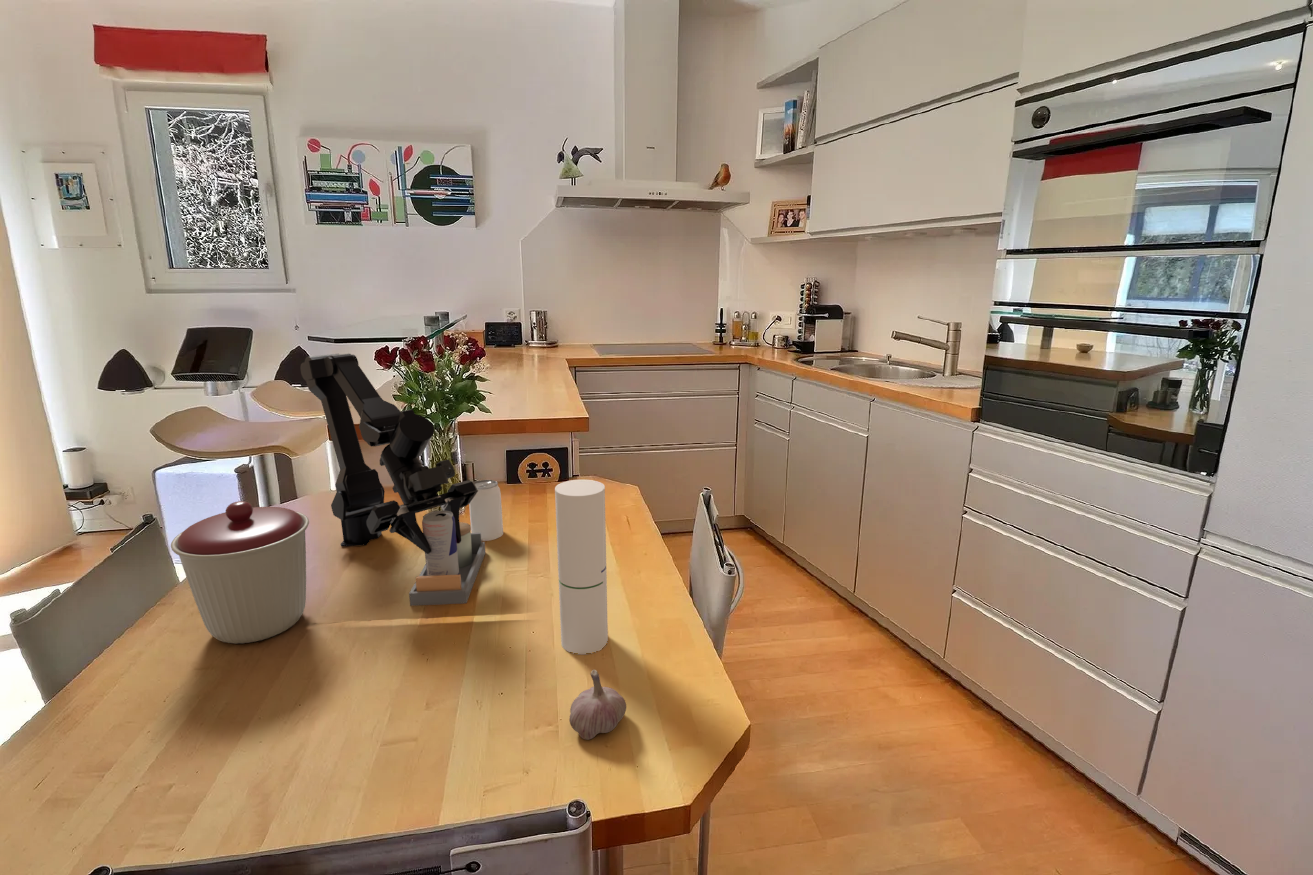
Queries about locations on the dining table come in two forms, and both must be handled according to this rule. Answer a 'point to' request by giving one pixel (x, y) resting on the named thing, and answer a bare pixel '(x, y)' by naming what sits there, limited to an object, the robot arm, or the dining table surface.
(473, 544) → the grey rectangular tray
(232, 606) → the canister
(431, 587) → the bar
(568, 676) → the dining table surface
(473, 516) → the can
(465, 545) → the sage jar
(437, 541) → the energy drink
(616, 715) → the garlic bulb
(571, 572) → the cylindrical container
